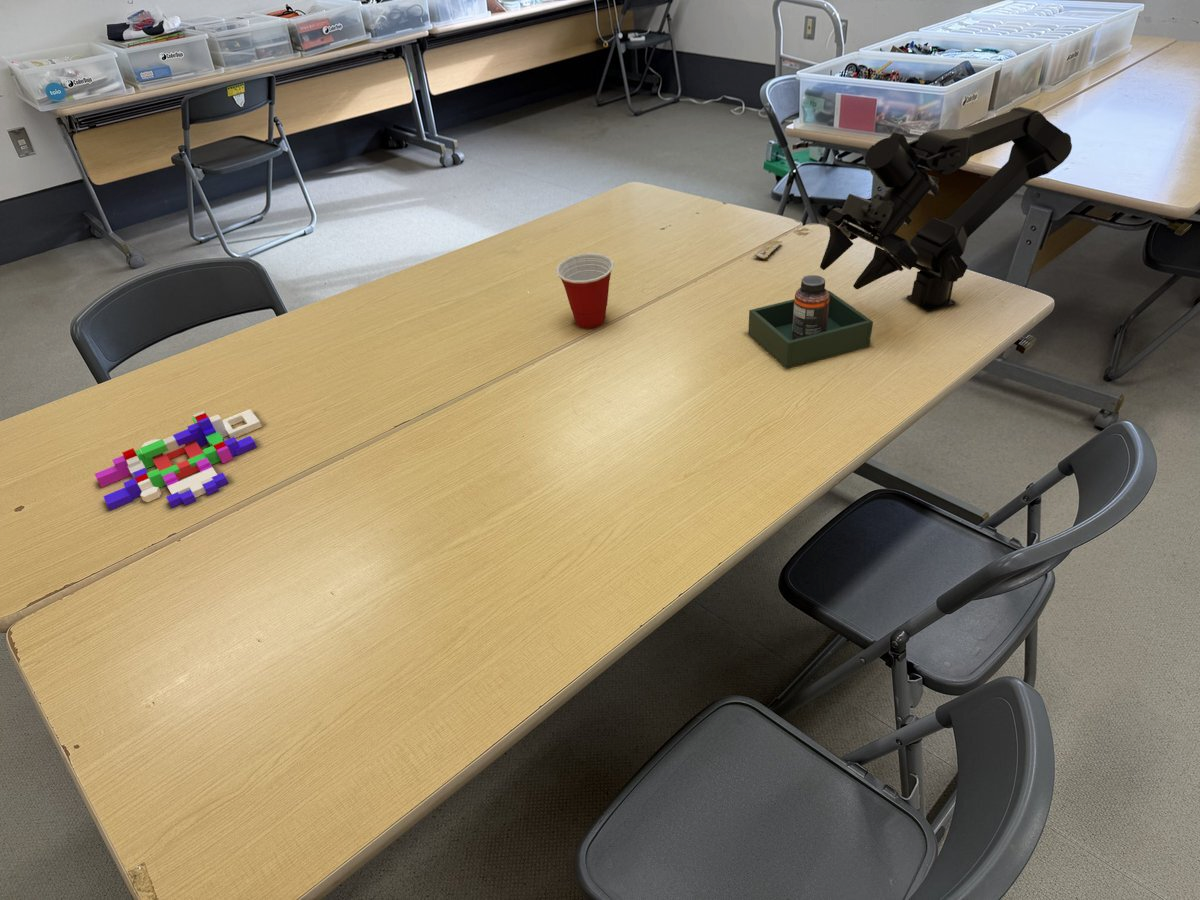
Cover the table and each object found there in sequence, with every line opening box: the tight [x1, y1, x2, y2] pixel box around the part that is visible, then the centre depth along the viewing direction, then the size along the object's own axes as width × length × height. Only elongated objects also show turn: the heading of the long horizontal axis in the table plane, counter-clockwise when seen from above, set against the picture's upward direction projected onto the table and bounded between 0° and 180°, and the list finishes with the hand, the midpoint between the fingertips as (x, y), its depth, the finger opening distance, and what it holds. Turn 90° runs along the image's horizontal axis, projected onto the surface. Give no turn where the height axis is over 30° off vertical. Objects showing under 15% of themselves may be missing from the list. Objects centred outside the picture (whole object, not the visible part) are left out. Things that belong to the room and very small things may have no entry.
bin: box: [747, 290, 874, 369], centre depth 140 cm, size 17×14×5 cm
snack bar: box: [753, 240, 783, 260], centre depth 172 cm, size 10×2×3 cm
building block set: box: [94, 408, 263, 511], centre depth 124 cm, size 25×20×4 cm
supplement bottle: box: [792, 274, 830, 339], centre depth 138 cm, size 6×6×11 cm
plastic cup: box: [555, 252, 615, 330], centre depth 149 cm, size 11×11×12 cm
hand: (837, 278), depth 136 cm, fingers open, 9 cm apart
